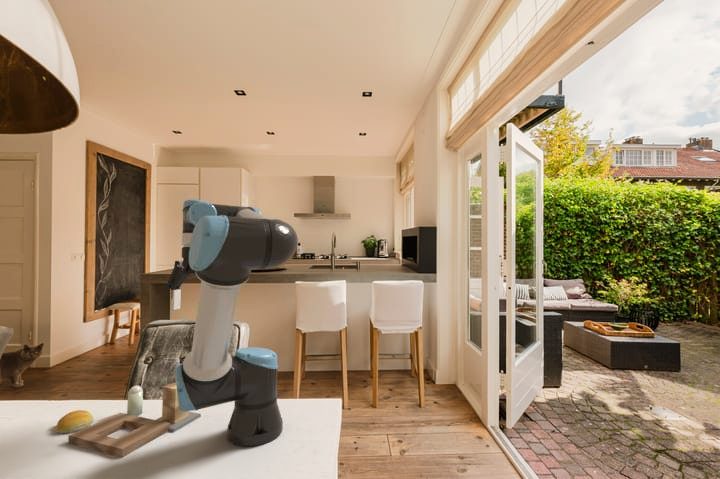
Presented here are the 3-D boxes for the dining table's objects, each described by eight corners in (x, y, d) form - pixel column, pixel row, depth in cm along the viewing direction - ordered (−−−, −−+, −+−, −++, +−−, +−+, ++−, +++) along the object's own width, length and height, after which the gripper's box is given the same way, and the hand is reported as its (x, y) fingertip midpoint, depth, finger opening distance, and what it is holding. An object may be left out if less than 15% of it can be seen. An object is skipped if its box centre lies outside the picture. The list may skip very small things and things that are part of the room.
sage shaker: (145, 412, 108) (146, 384, 109) (133, 418, 104) (134, 389, 105) (136, 410, 109) (137, 382, 110) (123, 416, 106) (125, 387, 106)
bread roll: (56, 438, 93) (57, 423, 93) (56, 426, 100) (57, 412, 100) (94, 428, 99) (95, 414, 99) (92, 417, 105) (92, 404, 106)
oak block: (188, 416, 104) (189, 383, 105) (174, 423, 99) (175, 389, 100) (175, 413, 106) (176, 381, 106) (161, 421, 101) (163, 387, 101)
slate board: (200, 416, 106) (200, 413, 106) (173, 432, 96) (174, 429, 96) (175, 411, 109) (176, 409, 109) (147, 426, 99) (147, 423, 99)
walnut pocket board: (170, 430, 97) (170, 423, 97) (122, 457, 84) (122, 449, 84) (119, 419, 103) (120, 412, 104) (68, 443, 90) (68, 435, 90)
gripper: (233, 246, 113) (231, 310, 112) (174, 246, 120) (172, 306, 119) (217, 246, 106) (215, 314, 105) (155, 246, 113) (153, 309, 112)
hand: (192, 310), depth 112 cm, fingers open, 13 cm apart
